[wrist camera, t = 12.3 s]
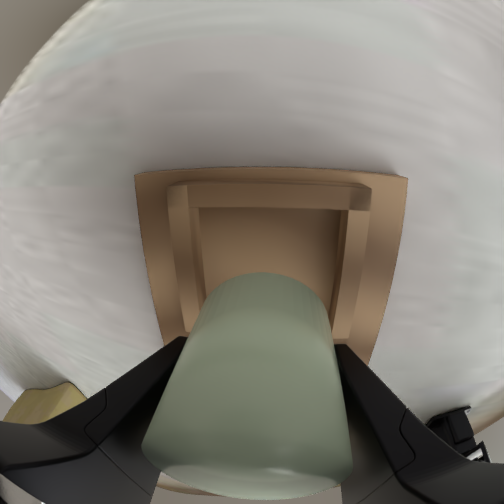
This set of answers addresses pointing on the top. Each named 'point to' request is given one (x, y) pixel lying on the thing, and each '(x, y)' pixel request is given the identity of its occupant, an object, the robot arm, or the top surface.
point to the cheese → (43, 404)
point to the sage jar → (255, 396)
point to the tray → (273, 239)
